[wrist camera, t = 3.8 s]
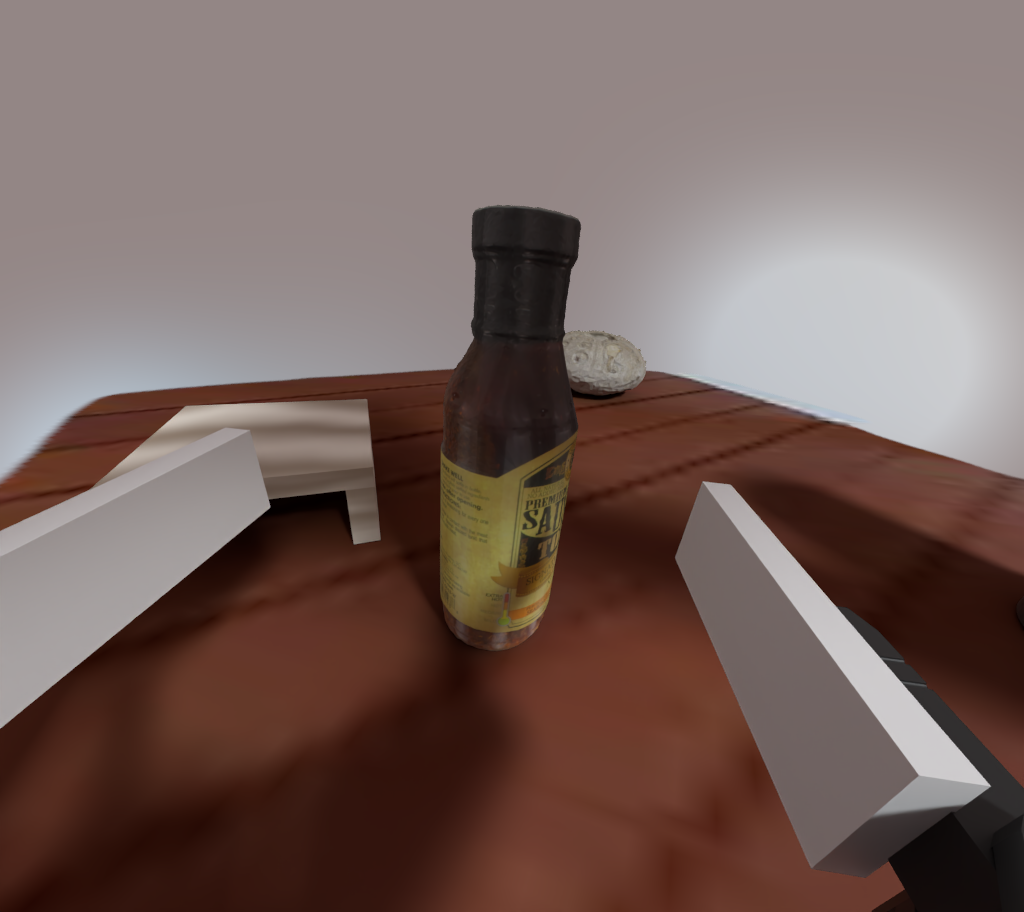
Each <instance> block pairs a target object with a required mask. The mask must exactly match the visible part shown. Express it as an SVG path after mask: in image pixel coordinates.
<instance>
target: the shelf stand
mask: <svg viewBox="0 0 1024 912" xmlns="http://www.w3.org/2000/svg"><path fill="white" fill-rule="evenodd" d="M225 427H226V428H234V429H243V430H250V432H251V436H252V439H253V443H254V447H255V451H256V454H257V458H258V462H259V466H260V469H261V473H262V477H263V481H264V484H265V488H266V492H267V496H268V499H276V498H284V497H293V496H301V495H310V494H318V493H327V492H335V491H344V490H346V496H347V503H348V510H349V516H350V523H351V530H352V536H353V543H354V544H360V543H366V542H372V541H378V540H381V537H380V527H379V516H378V505H377V494H376V484H375V473H374V462H373V452H372V442H371V433H370V423H369V414H368V404H367V399H359V400H333V401H306V402H280V403H254V404H227V405H201V406H186V407H185V408H183V409H182V410H181V411H180V412H179V413H178V414H176V415H175V416H174V417H173V418H172V419H171V420H170V421H168V422H167V423H166V424H165V425H164V426H163V427H161V428H160V429H159V430H158V431H157V432H156V433H155V434H153V435H152V436H151V437H150V438H149V439H148V440H146V441H145V442H144V443H143V444H142V445H141V446H139V447H138V448H137V449H136V450H135V451H134V452H133V453H131V454H130V455H129V456H128V457H127V458H126V459H124V460H123V461H122V462H121V463H120V464H119V465H117V466H116V467H115V468H114V469H113V470H112V471H111V472H109V473H108V474H107V475H106V476H105V477H104V478H102V479H101V480H100V481H99V482H98V483H97V484H95V485H94V486H93V487H92V488H91V489H93V488H95V487H97V486H99V485H102V484H104V483H106V482H108V481H110V480H112V479H115V478H117V477H119V476H121V475H123V474H125V473H128V472H130V471H132V470H134V469H136V468H139V467H141V466H143V465H145V464H147V463H149V462H152V461H154V460H156V459H158V458H160V457H162V456H165V455H167V454H169V453H171V452H173V451H175V450H178V449H180V448H182V447H184V446H186V445H189V444H191V443H193V442H195V441H197V440H199V439H202V438H204V437H206V436H208V435H210V434H212V433H215V432H217V431H219V430H221V429H223V428H225ZM91 489H90V490H91Z"/></svg>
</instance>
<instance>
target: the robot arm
mask: <svg viewBox="0 0 1024 912" xmlns="http://www.w3.org/2000/svg"><path fill="white" fill-rule="evenodd" d="M269 508H270V503H269V499H268V496H267V492H266V488H265V484H264V481H263V477H262V473H261V469H260V466H259V462H258V458H257V454H256V451H255V447H254V443H253V439H252V436H251V432H250V430H243V429H234V428H226V427H225V428H223V429H221V430H219V431H217V432H215V433H212V434H210V435H208V436H206V437H204V438H202V439H199V440H197V441H195V442H193V443H191V444H189V445H186V446H184V447H182V448H180V449H178V450H175V451H173V452H171V453H169V454H167V455H165V456H162V457H160V458H158V459H156V460H154V461H152V462H149V463H147V464H145V465H143V466H141V467H139V468H136V469H134V470H132V471H130V472H128V473H125V474H123V475H121V476H119V477H117V478H115V479H112V480H110V481H108V482H106V483H104V484H102V485H99V486H97V487H95V488H93V489H91V490H89V491H86V492H84V493H82V494H80V495H78V496H76V497H73V498H71V499H69V500H67V501H65V502H62V503H60V504H58V505H56V506H54V507H52V508H49V509H47V510H45V511H43V512H41V513H39V514H36V515H34V516H32V517H30V518H28V519H26V520H23V521H21V522H19V523H17V524H15V525H12V526H10V527H8V528H6V529H4V530H2V531H0V728H2V727H3V726H4V725H5V724H6V723H8V722H9V721H10V720H11V719H13V718H14V717H15V716H16V715H17V714H19V713H20V712H21V711H22V710H24V709H25V708H26V707H27V706H28V705H30V704H31V703H32V702H33V701H35V700H36V699H37V698H38V697H39V696H41V695H42V694H43V693H44V692H46V691H47V690H48V689H49V688H50V687H52V686H53V685H54V684H55V683H57V682H58V681H59V680H60V679H61V678H63V677H64V676H65V675H66V674H68V673H69V672H70V671H71V670H72V669H74V668H75V667H76V666H77V665H79V664H80V663H81V662H82V661H83V660H85V659H86V658H87V657H88V656H90V655H91V654H92V653H93V652H94V651H96V650H97V649H98V648H99V647H101V646H102V645H103V644H104V643H105V642H107V641H108V640H109V639H110V638H112V637H113V636H114V635H115V634H116V633H118V632H119V631H120V630H121V629H123V628H124V627H125V626H126V625H127V624H129V623H130V622H131V621H132V620H134V619H135V618H136V617H137V616H138V615H140V614H141V613H142V612H143V611H145V610H146V609H147V608H148V607H149V606H151V605H152V604H153V603H154V602H156V601H157V600H158V599H159V598H160V597H162V596H163V595H164V594H165V593H167V592H168V591H169V590H170V589H171V588H173V587H174V586H175V585H176V584H178V583H179V582H180V581H181V580H182V579H184V578H185V577H186V576H187V575H189V574H190V573H191V572H192V571H193V570H195V569H196V568H197V567H198V566H200V565H201V564H202V563H203V562H204V561H206V560H207V559H208V558H209V557H211V556H212V555H213V554H214V553H215V552H217V551H218V550H219V549H220V548H222V547H223V546H224V545H225V544H226V543H228V542H229V541H230V540H231V539H233V538H234V537H235V536H236V535H237V534H239V533H240V532H241V531H242V530H244V529H245V528H246V527H247V526H248V525H250V524H251V523H252V522H253V521H255V520H256V519H257V518H258V517H259V516H261V515H262V514H263V513H264V512H266V511H267V510H268V509H269ZM675 559H676V562H677V564H678V566H679V568H680V571H681V573H682V575H683V578H684V580H685V582H686V584H687V587H688V589H689V591H690V594H691V596H692V598H693V600H694V603H695V605H696V607H697V609H698V612H699V614H700V616H701V619H702V621H703V623H704V625H705V628H706V630H707V632H708V635H709V637H710V639H711V641H712V644H713V646H714V648H715V651H716V653H717V655H718V657H719V660H720V662H721V664H722V667H723V669H724V671H725V673H726V676H727V678H728V680H729V682H730V685H731V687H732V689H733V692H734V694H735V696H736V698H737V701H738V703H739V705H740V708H741V710H742V712H743V714H744V717H745V719H746V721H747V724H748V726H749V728H750V730H751V733H752V735H753V737H754V739H755V742H756V744H757V746H758V749H759V751H760V753H761V755H762V758H763V760H764V762H765V765H766V767H767V769H768V771H769V774H770V776H771V778H772V781H773V783H774V785H775V787H776V790H777V792H778V794H779V797H780V799H781V801H782V803H783V806H784V808H785V810H786V812H787V815H788V817H789V819H790V822H791V824H792V826H793V828H794V831H795V833H796V835H797V838H798V840H799V842H800V844H801V847H802V849H803V851H804V854H805V856H806V858H807V860H808V863H809V865H810V867H811V869H816V870H822V871H828V872H834V873H840V874H846V875H852V876H858V877H864V878H866V877H867V876H869V875H870V874H871V873H873V872H874V871H876V870H877V869H878V868H880V867H881V866H882V865H884V864H885V863H887V862H888V861H889V862H890V864H891V866H892V867H893V869H894V871H895V873H896V874H897V876H898V878H899V880H900V881H901V883H902V885H903V886H904V888H905V890H903V891H902V892H900V893H899V894H897V895H896V896H894V897H892V898H891V899H889V900H888V901H886V902H885V903H883V904H882V905H880V906H878V907H877V908H875V909H874V910H872V912H1024V788H1023V787H1022V786H1021V785H1020V784H1019V783H1018V782H1017V781H1016V780H1015V778H1014V777H1013V776H1012V775H1011V774H1010V773H1009V772H1008V771H1007V770H1006V769H1005V768H1004V767H1003V765H1002V764H1001V763H1000V762H999V761H998V760H997V759H996V758H995V757H994V756H993V755H992V754H991V752H990V751H989V750H988V749H987V748H986V747H985V746H984V745H983V744H982V743H981V742H980V741H979V739H978V738H977V737H976V736H975V735H974V734H973V733H972V732H971V731H970V730H969V729H968V728H967V726H966V725H965V724H964V723H963V722H962V721H961V720H960V719H959V718H958V717H957V716H956V715H955V713H954V712H953V711H952V710H951V709H950V708H949V707H948V706H947V705H946V704H945V703H944V702H943V700H942V699H941V698H940V697H939V696H938V695H937V694H936V693H935V692H934V691H933V690H930V689H928V688H927V686H926V684H927V683H926V682H925V681H924V680H923V679H922V678H921V677H920V676H919V674H918V673H917V672H916V671H915V670H914V669H913V668H912V667H911V666H910V665H907V664H905V663H904V658H903V657H902V656H901V655H900V654H899V653H898V652H897V651H896V650H895V648H894V647H893V646H892V645H891V644H890V643H889V642H888V641H887V640H886V639H885V638H884V637H883V635H882V634H881V633H880V632H879V631H877V630H876V629H875V628H874V627H872V626H871V625H870V624H868V623H867V622H866V621H864V620H863V619H862V618H860V617H859V616H858V615H856V614H855V613H854V612H852V611H851V610H850V609H848V608H847V607H839V606H835V605H834V604H833V603H832V601H831V600H830V599H829V598H828V597H827V596H826V595H825V593H824V592H823V591H822V590H821V589H820V588H819V586H818V585H817V584H816V583H815V582H814V581H813V579H812V578H811V577H810V576H809V575H808V574H807V572H806V571H805V570H804V569H803V568H802V567H801V566H800V564H799V563H798V562H797V561H796V560H795V559H794V557H793V556H792V555H791V554H790V553H789V552H788V550H787V549H786V548H785V547H784V546H783V545H782V544H781V542H780V541H779V540H778V539H777V538H776V537H775V535H774V534H773V533H772V532H771V531H770V530H769V528H768V527H767V526H766V525H765V524H764V523H763V521H762V520H761V519H760V518H759V517H758V516H757V515H756V513H755V512H754V511H753V510H752V509H751V508H750V506H749V505H748V504H747V503H746V502H745V501H744V499H743V498H742V497H741V496H740V495H739V494H738V493H737V491H736V490H735V489H734V488H733V487H732V486H731V485H728V484H719V483H711V482H702V484H701V487H700V490H699V493H698V495H697V498H696V501H695V504H694V506H693V509H692V512H691V515H690V517H689V520H688V523H687V526H686V529H685V531H684V534H683V537H682V540H681V542H680V545H679V548H678V551H677V553H676V556H675ZM1016 611H1017V615H1018V618H1019V620H1020V622H1021V624H1022V625H1023V627H1024V596H1023V597H1022V598H1021V599H1020V600H1019V602H1018V603H1017V606H1016Z"/></svg>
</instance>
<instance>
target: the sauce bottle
mask: <svg viewBox="0 0 1024 912" xmlns="http://www.w3.org/2000/svg"><path fill="white" fill-rule="evenodd" d="M580 230H581V224H580V222H579V220H578V219H577V218H575V217H573V216H570V215H566V214H563V213H560V212H557V211H552V210H547V209H543V208H539V207H537V208H532V207H525V206H510V205H506V206H501V205H497V206H488V207H485V208H479V209H477V210H475V212H474V213H473V218H472V252H473V257H474V259H475V262H476V270H475V302H474V318H473V320H472V322H471V327H472V333H473V336H474V340H473V342H472V343H471V345H470V347H469V348H468V350H467V353H466V354H465V355H464V357H463V359H462V360H461V361H460V362H459V363H458V365H457V367H456V368H455V369H454V373H453V375H452V376H451V378H450V380H449V383H448V385H447V387H446V392H445V396H444V403H443V405H444V411H443V414H444V426H443V427H444V434H443V438H444V439H443V442H442V444H441V515H440V593H441V599H442V601H443V611H444V617H445V621H446V623H447V625H448V627H449V629H450V630H451V631H452V632H453V633H454V635H455V636H456V637H457V638H458V639H460V640H462V641H463V642H464V643H466V644H467V645H471V646H474V647H475V648H478V649H484V650H488V651H501V650H507V649H510V648H513V647H516V646H517V645H519V644H521V643H522V642H524V641H525V640H527V639H528V638H529V637H530V636H531V635H532V634H533V633H534V631H536V630H537V628H538V627H539V624H540V622H541V620H542V618H543V616H544V611H545V609H546V606H547V604H548V601H549V596H550V590H551V584H552V578H553V573H554V566H555V561H556V555H557V550H558V544H559V538H560V531H561V526H562V520H563V515H564V509H565V504H566V497H567V490H568V485H569V479H570V473H571V467H572V462H573V456H574V450H575V444H576V438H577V432H578V422H577V418H576V413H575V408H574V403H573V398H572V393H571V388H570V383H569V378H568V373H567V367H566V361H565V354H564V348H563V338H564V336H565V331H564V319H565V310H566V300H567V295H568V288H569V282H570V274H571V269H572V267H573V266H574V264H575V262H576V260H577V258H578V248H579V237H580Z"/></svg>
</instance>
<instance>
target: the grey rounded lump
mask: <svg viewBox="0 0 1024 912" xmlns="http://www.w3.org/2000/svg"><path fill="white" fill-rule="evenodd" d="M563 348H564V354H565V361H566V367H567V373H568V378H569V383H570V388H572V389H573V390H575V391H578V392H580V393H583V394H584V393H587V394H593V395H608V394H615V393H621V392H623V391H625V390H631V389H633V388H635V387H636V386H637V385H638V384H639V383H640V382H641V381H642V380H643V378H644V376H645V371H646V367H645V366H646V361H644V360H643V357H642V355H641V353H640V351H641V350H640V349H637V348H636V347H635V346H634V345H633V344H632V343H630V342H629V341H628V340H626V339H625V338H623V337H621V336H620V335H619V336H616V335H613V334H608V333H605V332H604V331H602V332H599V331H589V332H586V331H584V332H583V331H582V332H581V331H573V332H572V331H571V332H568V333H566V334H565V336H564V338H563Z"/></svg>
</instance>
